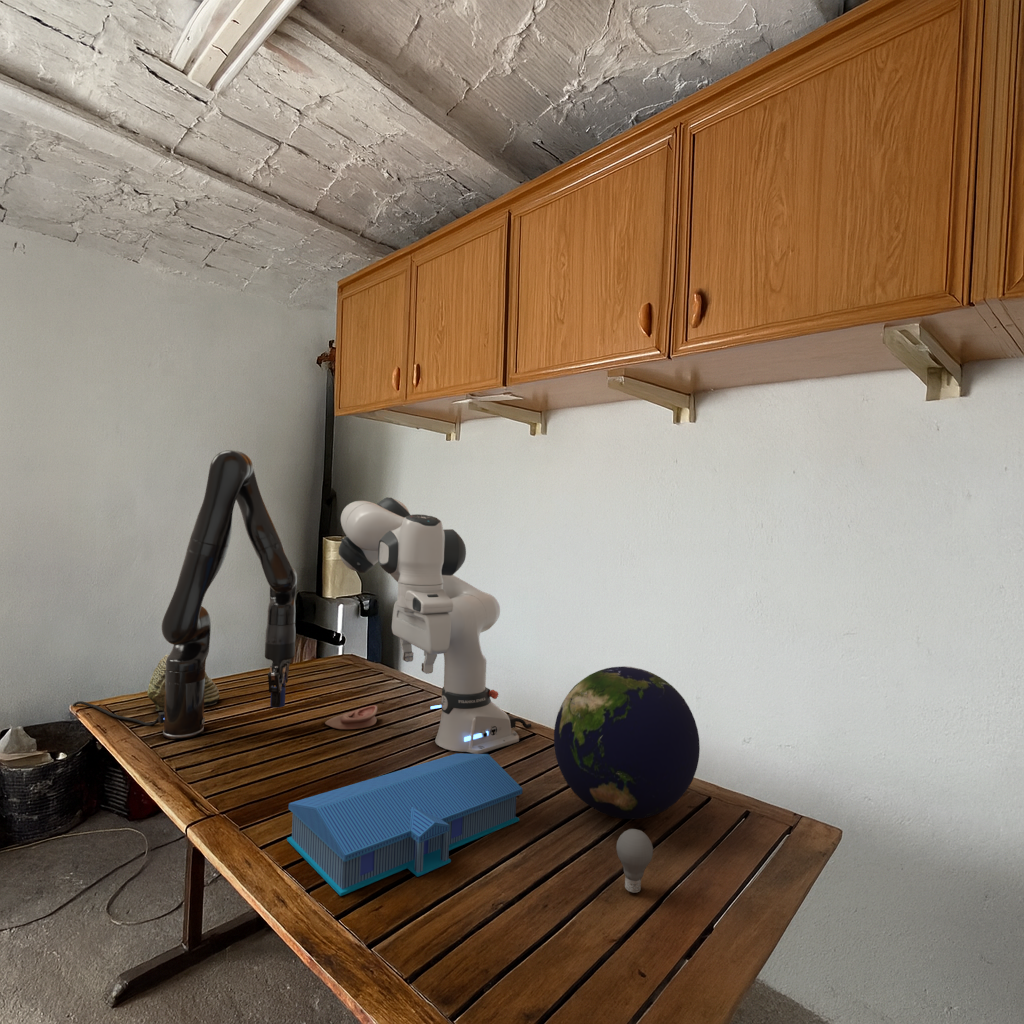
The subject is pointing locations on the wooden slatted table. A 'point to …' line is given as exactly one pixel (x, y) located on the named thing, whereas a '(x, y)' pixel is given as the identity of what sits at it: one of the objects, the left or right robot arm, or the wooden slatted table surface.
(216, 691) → the fossil
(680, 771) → the globe
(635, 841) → the light bulb
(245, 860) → the wooden slatted table surface
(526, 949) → the wooden slatted table surface
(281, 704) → the canister
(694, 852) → the wooden slatted table surface
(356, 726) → the anatomical model
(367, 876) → the model building
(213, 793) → the wooden slatted table surface
